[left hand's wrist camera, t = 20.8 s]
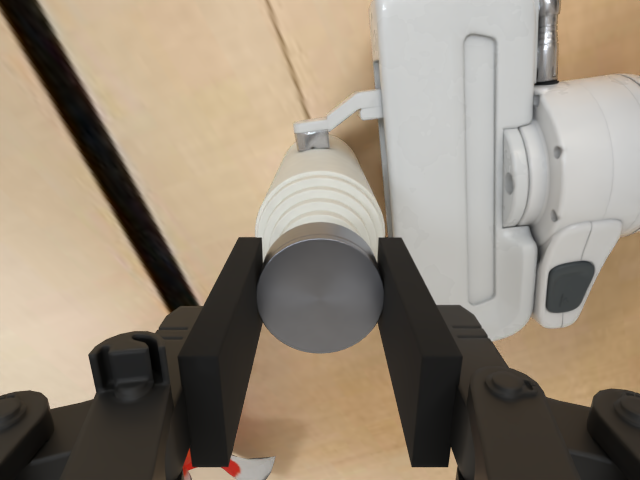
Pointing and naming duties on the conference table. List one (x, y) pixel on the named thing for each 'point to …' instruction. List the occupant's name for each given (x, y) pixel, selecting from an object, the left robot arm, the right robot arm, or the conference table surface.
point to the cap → (320, 288)
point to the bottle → (320, 195)
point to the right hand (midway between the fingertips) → (304, 198)
